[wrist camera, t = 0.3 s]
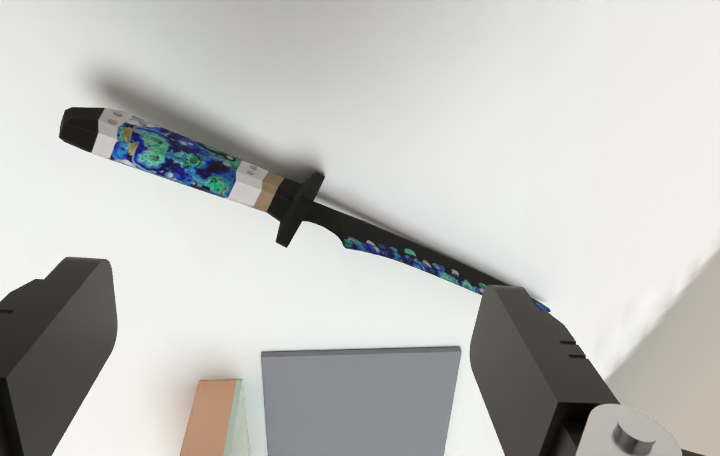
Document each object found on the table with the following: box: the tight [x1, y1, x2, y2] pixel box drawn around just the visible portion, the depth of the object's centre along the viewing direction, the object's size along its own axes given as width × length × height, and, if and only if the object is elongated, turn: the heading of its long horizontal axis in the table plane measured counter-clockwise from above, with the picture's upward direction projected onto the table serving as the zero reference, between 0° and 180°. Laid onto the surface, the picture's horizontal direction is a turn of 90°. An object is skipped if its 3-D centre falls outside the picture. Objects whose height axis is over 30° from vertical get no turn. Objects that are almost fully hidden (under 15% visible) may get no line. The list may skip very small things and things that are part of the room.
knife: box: [59, 107, 551, 312], centre depth 29 cm, size 31×3×4 cm, turn 57°
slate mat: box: [261, 347, 461, 456], centre depth 39 cm, size 15×14×1 cm
